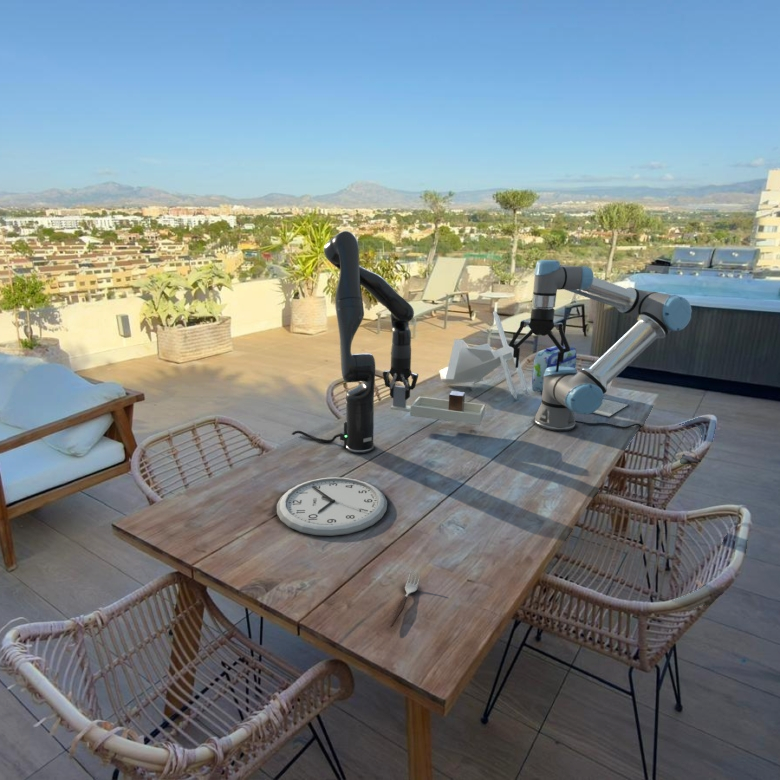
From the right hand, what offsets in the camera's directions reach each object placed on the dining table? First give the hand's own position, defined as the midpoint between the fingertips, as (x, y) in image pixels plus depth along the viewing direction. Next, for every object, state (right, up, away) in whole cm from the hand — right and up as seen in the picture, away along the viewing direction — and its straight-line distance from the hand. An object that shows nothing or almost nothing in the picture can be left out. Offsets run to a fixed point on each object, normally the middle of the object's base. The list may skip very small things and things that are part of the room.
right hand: (536, 368), depth 181 cm
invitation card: (+41, -15, +45) cm, 62 cm away
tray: (-34, -16, +17) cm, 41 cm away
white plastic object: (-9, -8, +62) cm, 63 cm away
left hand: (-47, -10, +20) cm, 52 cm away
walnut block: (-26, -16, +15) cm, 34 cm away
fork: (-48, -51, -75) cm, 103 cm away
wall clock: (-67, -39, -39) cm, 86 cm away
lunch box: (+26, -8, +67) cm, 72 cm away
